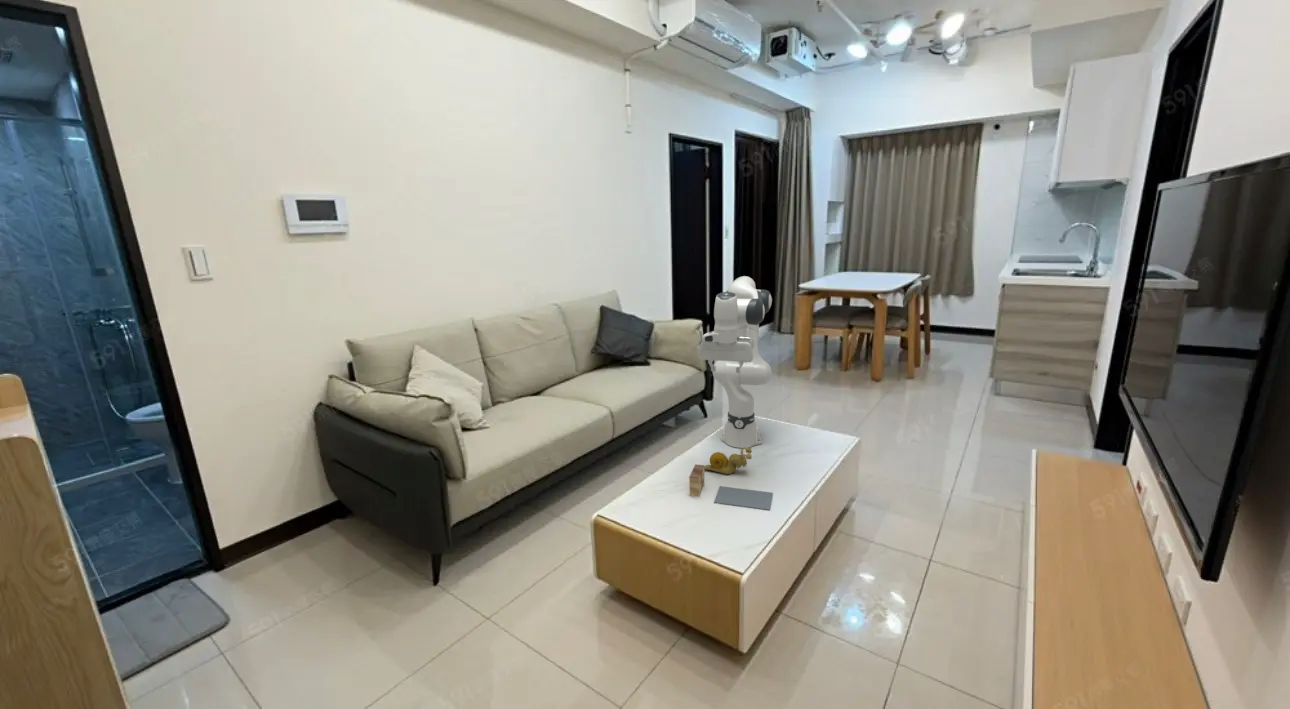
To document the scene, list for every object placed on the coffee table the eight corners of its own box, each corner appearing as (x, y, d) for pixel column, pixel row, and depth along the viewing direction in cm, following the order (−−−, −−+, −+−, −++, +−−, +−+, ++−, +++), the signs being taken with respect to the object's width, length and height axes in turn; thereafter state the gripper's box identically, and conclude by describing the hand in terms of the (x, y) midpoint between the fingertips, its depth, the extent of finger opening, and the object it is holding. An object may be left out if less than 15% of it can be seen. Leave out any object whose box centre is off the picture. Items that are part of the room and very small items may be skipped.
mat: (719, 486, 204) (719, 486, 204) (772, 493, 198) (772, 492, 198) (713, 503, 193) (713, 502, 193) (769, 510, 187) (769, 509, 187)
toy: (751, 477, 210) (751, 454, 207) (698, 474, 214) (698, 451, 211) (751, 468, 217) (751, 446, 215) (700, 465, 222) (700, 443, 219)
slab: (695, 482, 208) (695, 464, 206) (704, 483, 207) (704, 465, 205) (689, 495, 199) (689, 476, 196) (698, 496, 197) (698, 477, 195)
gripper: (755, 335, 197) (754, 371, 201) (701, 333, 204) (701, 368, 207) (753, 339, 192) (752, 375, 195) (697, 337, 198) (698, 372, 201)
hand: (725, 371), depth 201 cm, fingers open, 8 cm apart
